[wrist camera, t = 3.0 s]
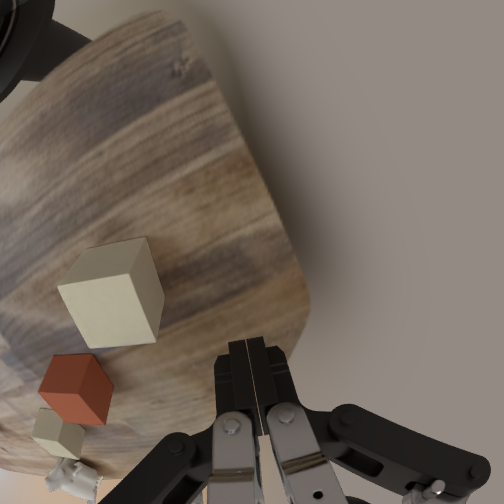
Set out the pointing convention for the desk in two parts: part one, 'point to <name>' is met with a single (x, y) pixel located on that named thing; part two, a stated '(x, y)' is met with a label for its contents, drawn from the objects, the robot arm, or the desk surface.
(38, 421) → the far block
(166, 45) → the desk surface
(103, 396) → the block
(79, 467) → the elephant figurine
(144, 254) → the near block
